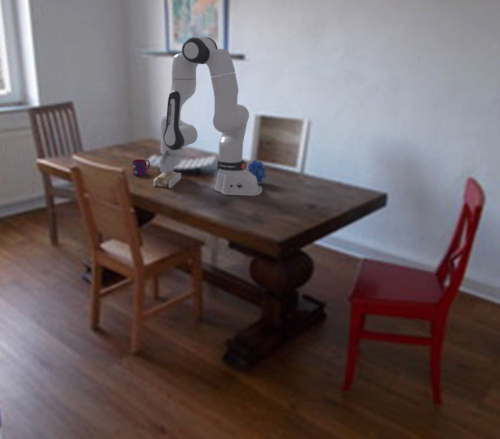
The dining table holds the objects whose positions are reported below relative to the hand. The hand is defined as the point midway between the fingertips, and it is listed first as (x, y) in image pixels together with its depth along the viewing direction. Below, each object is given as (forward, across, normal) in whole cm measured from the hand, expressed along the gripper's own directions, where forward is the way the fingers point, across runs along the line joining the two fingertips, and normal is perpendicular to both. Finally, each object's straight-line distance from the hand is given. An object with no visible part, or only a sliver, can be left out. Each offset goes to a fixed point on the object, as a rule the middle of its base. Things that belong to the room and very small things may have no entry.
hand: (170, 176), depth 271 cm
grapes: (+2, +7, -42) cm, 43 cm away
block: (+2, -8, 0) cm, 8 cm away
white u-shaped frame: (+2, -4, 0) cm, 4 cm away
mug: (+2, +7, +17) cm, 18 cm away
